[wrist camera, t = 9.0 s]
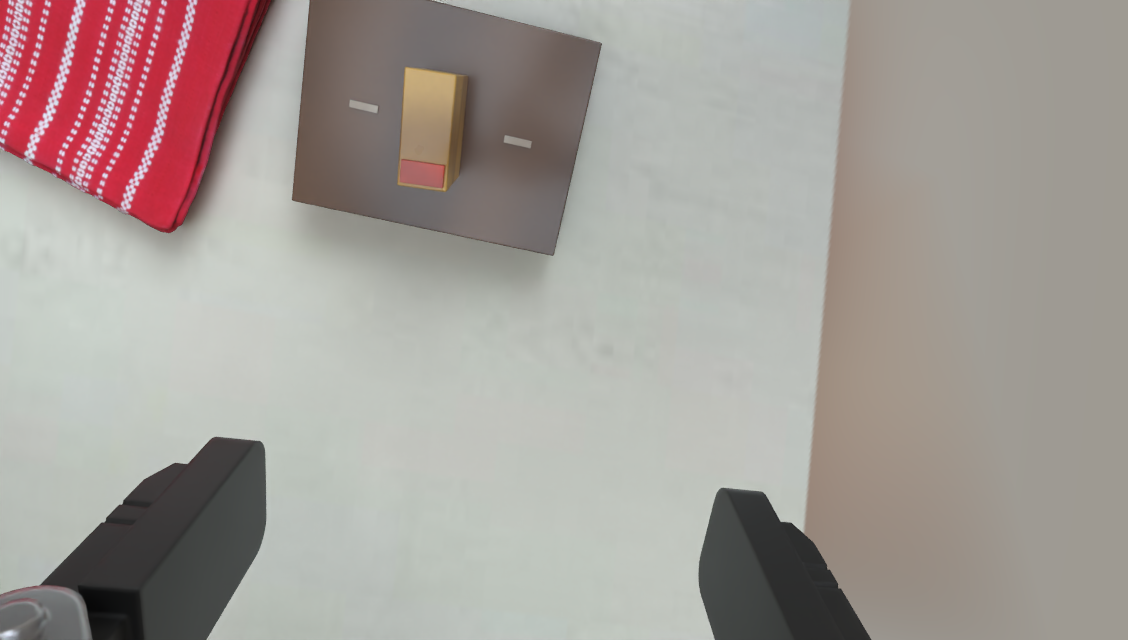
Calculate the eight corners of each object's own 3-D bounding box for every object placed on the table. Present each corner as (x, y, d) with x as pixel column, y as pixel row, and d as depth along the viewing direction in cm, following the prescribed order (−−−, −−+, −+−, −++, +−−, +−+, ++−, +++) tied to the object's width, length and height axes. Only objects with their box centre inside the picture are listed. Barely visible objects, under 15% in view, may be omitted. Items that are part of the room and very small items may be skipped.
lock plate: (597, 45, 35) (602, 42, 32) (552, 243, 39) (553, 256, 36) (331, -21, 34) (310, -31, 31) (310, 191, 37) (290, 201, 34)
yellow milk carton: (423, 68, 32) (403, 66, 28) (468, 75, 33) (456, 74, 28) (416, 170, 34) (395, 186, 29) (459, 177, 34) (445, 193, 29)
